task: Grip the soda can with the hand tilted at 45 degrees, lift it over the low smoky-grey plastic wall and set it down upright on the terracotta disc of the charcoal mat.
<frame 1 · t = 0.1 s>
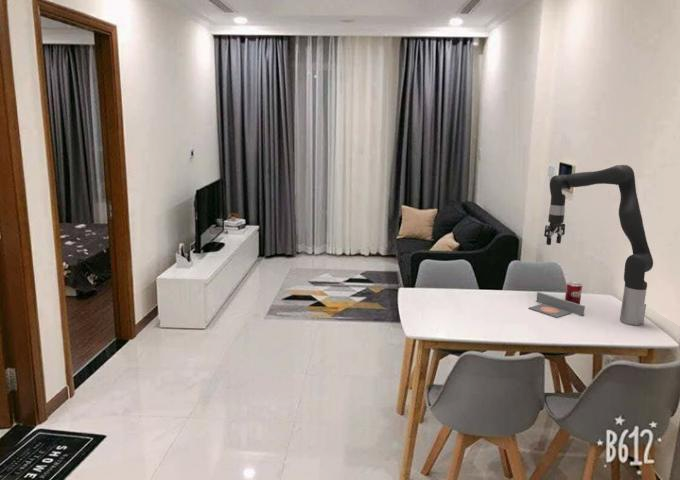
hand: (553, 243, 292), 29 cm above the table, tool pointing down, fingers open, 8 cm apart
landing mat: (549, 311, 275), on the table
low wall: (559, 308, 280), on the table
soda can: (571, 307, 283), on the table
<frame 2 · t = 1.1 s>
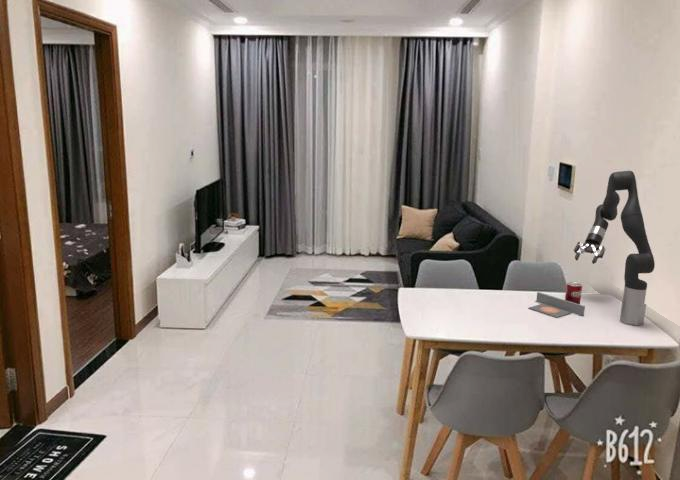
hand: (584, 261, 287), 22 cm above the table, tool tilted 45°, fingers open, 8 cm apart
nothing on the table moved.
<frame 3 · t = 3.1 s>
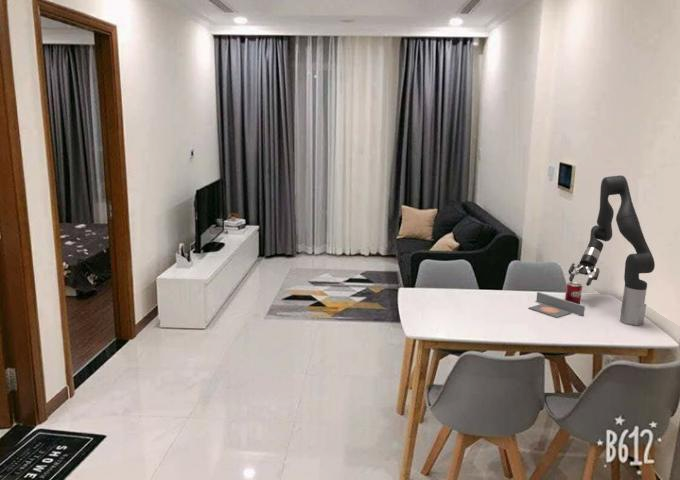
hand: (578, 283, 284), 11 cm above the table, tool tilted 45°, fingers open, 8 cm apart
nothing on the table moved.
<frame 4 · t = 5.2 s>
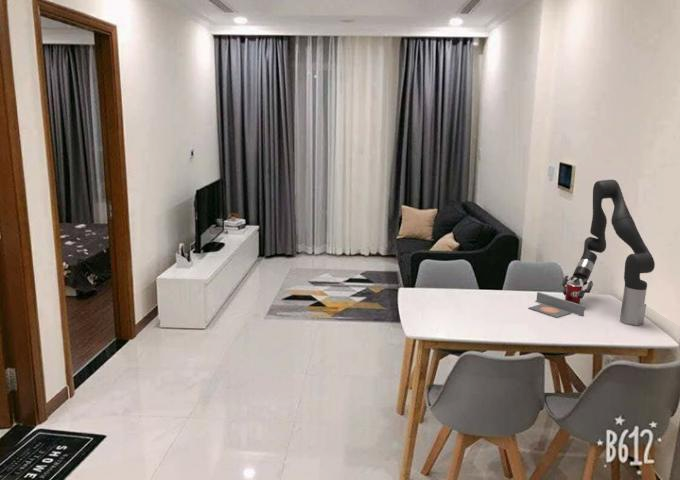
hand: (572, 296, 280), 6 cm above the table, tool tilted 45°, fingers closed on soda can, 7 cm apart
soda can: (571, 307, 283), on the table, touching gripper
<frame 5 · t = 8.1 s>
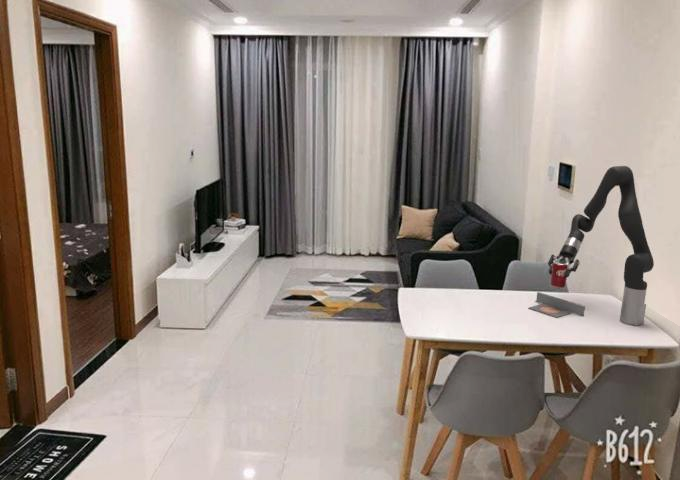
hand: (557, 275, 273), 18 cm above the table, tool tilted 45°, fingers closed on soda can, 7 cm apart
soda can: (557, 286, 275), point 12 cm above the table, touching gripper
when the fingers open (8 cm above the table, at t = 11.1 s): soda can stays where it is, resting on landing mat.
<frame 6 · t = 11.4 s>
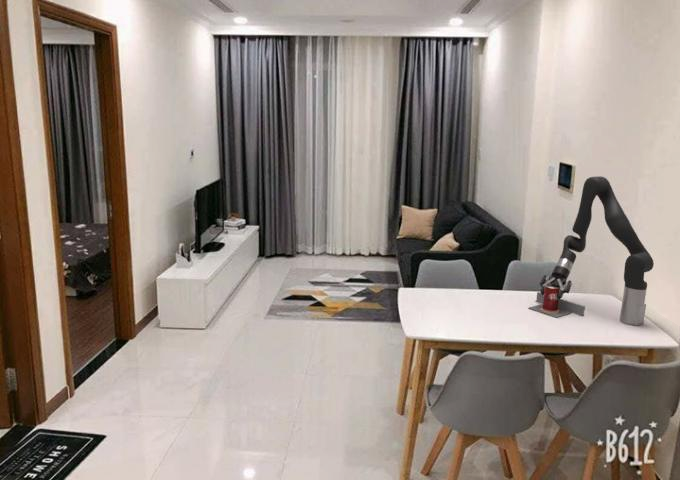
hand: (550, 296, 273), 8 cm above the table, tool tilted 45°, fingers open, 8 cm apart
soda can: (549, 309, 275), point 1 cm above the table, touching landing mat
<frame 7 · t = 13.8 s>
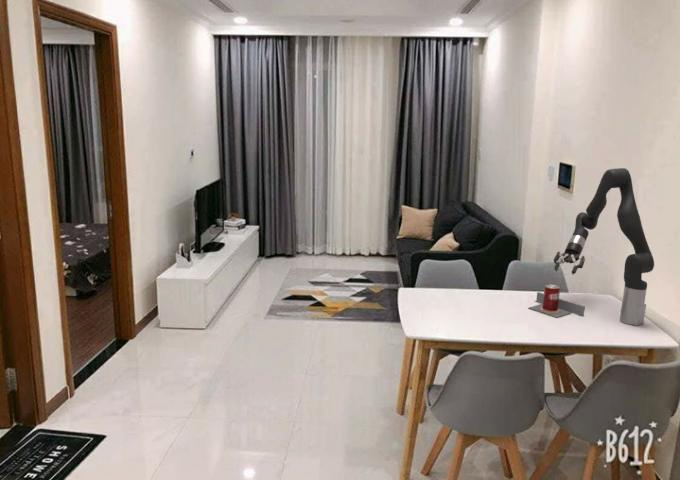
hand: (564, 271, 279), 18 cm above the table, tool tilted 45°, fingers open, 8 cm apart
nothing on the table moved.
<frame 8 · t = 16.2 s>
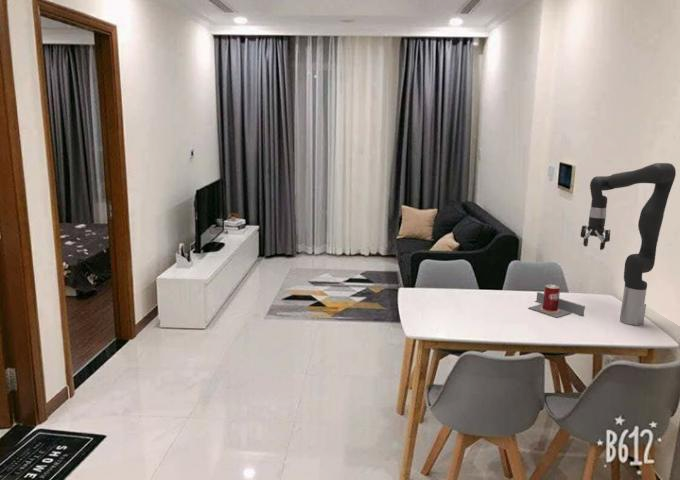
hand: (593, 247, 280), 30 cm above the table, tool pointing down, fingers open, 8 cm apart
nothing on the table moved.
at the end: soda can 0.2 cm from the target spot, point 0.6 cm above the table; soda can tilted 0°; the gripper is holding nothing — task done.
